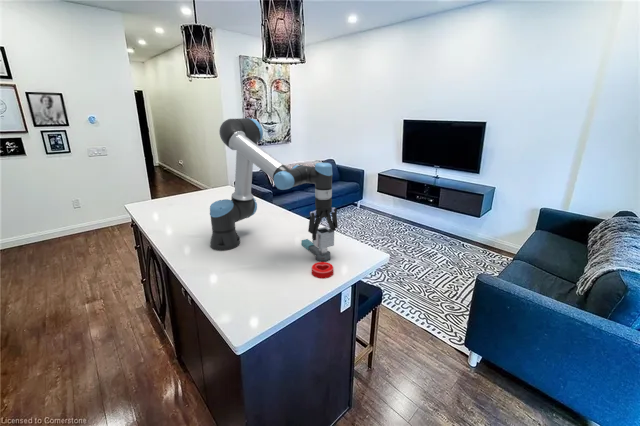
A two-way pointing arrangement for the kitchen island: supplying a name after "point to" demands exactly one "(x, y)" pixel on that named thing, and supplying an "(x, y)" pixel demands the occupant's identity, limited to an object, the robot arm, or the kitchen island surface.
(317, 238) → the robot arm
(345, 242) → the kitchen island surface
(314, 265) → the decorative ornament
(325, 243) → the hollow square tube
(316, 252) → the ratchet
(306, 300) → the kitchen island surface
